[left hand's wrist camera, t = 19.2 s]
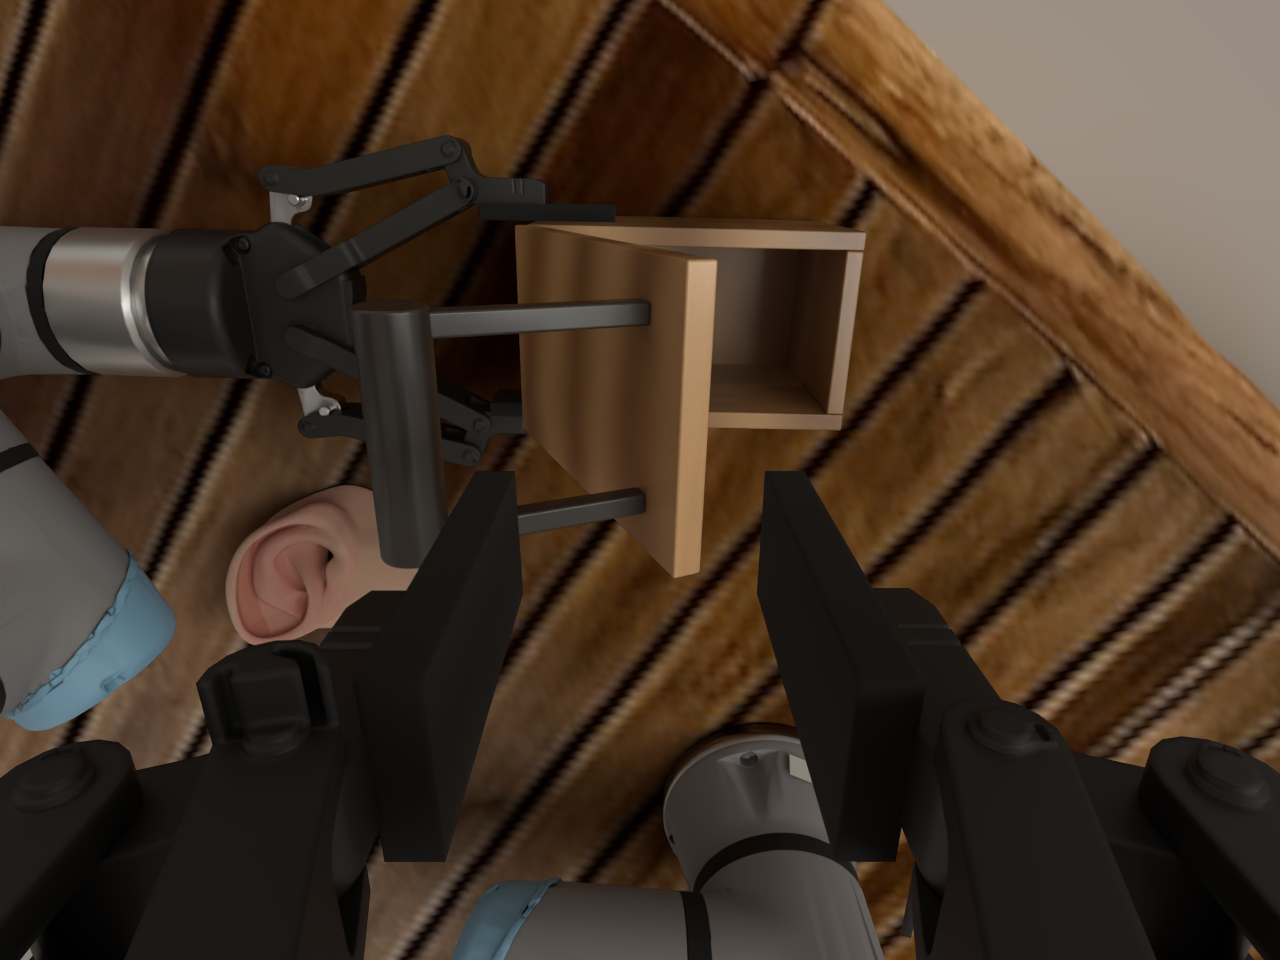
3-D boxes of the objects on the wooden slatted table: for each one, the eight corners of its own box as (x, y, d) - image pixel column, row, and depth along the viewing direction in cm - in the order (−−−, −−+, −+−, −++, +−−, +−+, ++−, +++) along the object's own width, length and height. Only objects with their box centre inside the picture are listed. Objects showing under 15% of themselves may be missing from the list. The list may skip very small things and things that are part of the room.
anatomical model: (423, 517, 45) (424, 671, 49) (439, 492, 49) (439, 637, 53) (204, 497, 45) (225, 654, 49) (237, 473, 48) (254, 621, 53)
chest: (812, 220, 43) (867, 231, 32) (796, 375, 46) (841, 430, 36) (554, 214, 42) (526, 224, 32) (557, 370, 46) (533, 424, 36)
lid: (718, 259, 19) (352, 267, 15) (700, 573, 22) (397, 639, 19) (534, 224, 32) (314, 225, 28) (541, 426, 35) (345, 448, 32)
